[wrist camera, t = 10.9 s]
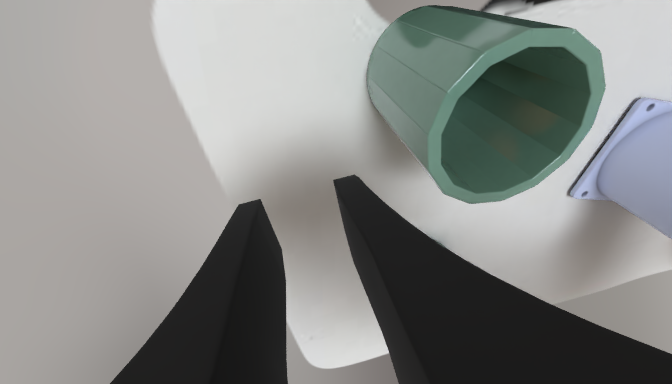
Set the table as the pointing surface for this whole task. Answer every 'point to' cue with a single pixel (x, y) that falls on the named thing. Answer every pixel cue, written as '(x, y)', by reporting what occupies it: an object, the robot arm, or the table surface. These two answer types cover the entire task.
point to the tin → (485, 97)
